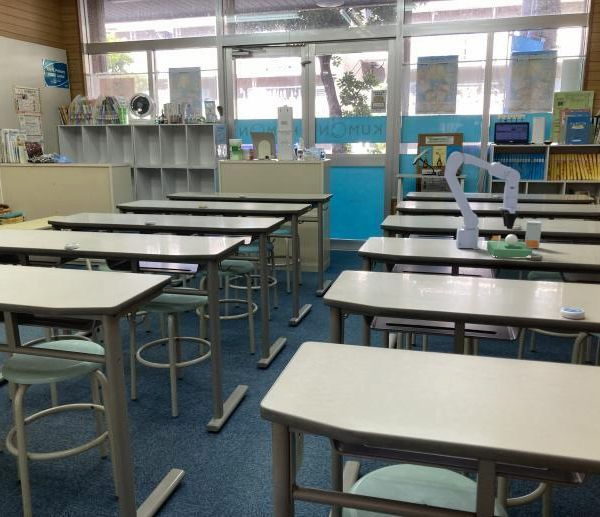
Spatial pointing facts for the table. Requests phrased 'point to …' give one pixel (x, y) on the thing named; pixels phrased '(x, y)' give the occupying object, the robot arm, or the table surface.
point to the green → (507, 248)
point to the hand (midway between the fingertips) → (508, 227)
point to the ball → (511, 240)
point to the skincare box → (533, 234)
